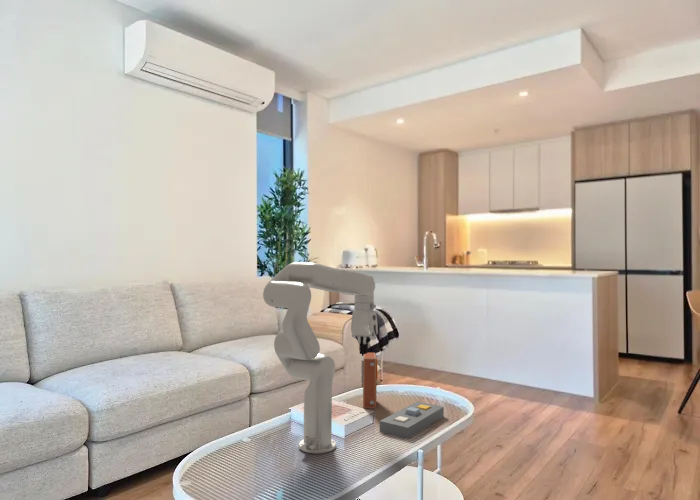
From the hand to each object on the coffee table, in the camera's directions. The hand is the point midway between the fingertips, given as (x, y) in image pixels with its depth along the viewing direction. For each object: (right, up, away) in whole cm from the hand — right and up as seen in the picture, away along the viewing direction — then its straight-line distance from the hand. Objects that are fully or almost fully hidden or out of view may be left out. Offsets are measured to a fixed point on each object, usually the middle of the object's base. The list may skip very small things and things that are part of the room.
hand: (363, 353), depth 189 cm
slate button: (+19, -24, -1) cm, 31 cm away
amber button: (+24, -26, +6) cm, 36 cm away
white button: (+14, -26, -8) cm, 30 cm away
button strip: (+19, -27, -1) cm, 33 cm away
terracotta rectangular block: (+3, -28, +24) cm, 37 cm away
